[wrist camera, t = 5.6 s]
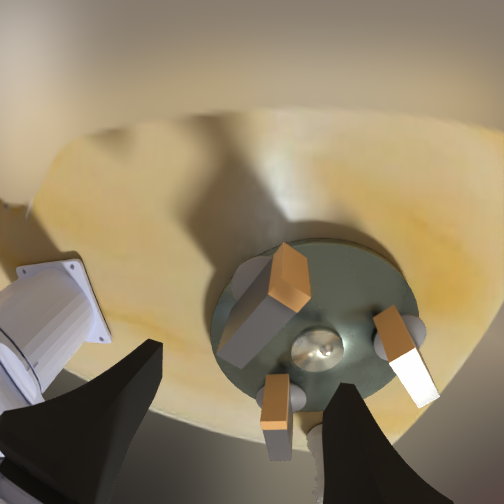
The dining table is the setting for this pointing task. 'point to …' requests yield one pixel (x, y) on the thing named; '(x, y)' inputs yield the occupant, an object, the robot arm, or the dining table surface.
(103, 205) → the dining table surface
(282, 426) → the grey block
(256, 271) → the knob
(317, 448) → the rook chess piece
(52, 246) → the dining table surface
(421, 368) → the knob
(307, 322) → the base plate
